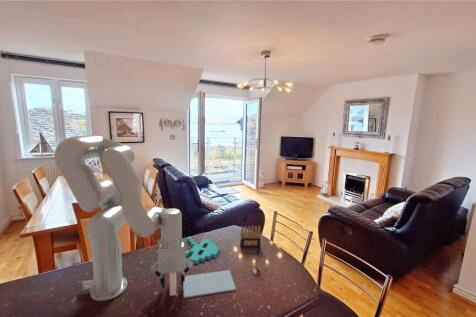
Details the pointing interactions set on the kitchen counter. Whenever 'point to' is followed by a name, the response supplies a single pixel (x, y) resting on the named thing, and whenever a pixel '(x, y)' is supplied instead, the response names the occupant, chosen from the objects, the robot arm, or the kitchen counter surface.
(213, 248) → the alien figure
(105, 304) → the kitchen counter surface
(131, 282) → the kitchen counter surface
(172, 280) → the tile
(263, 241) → the kitchen counter surface
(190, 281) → the mat
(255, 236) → the ammunition clip
